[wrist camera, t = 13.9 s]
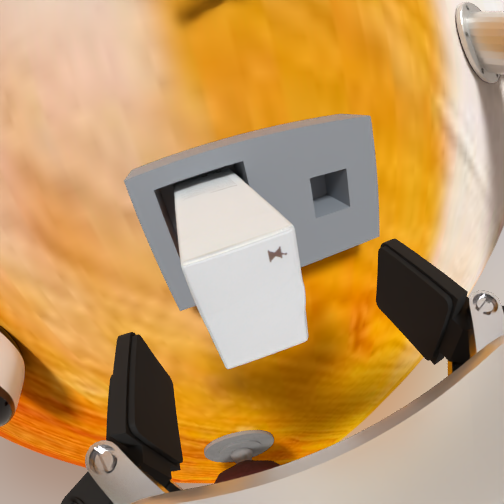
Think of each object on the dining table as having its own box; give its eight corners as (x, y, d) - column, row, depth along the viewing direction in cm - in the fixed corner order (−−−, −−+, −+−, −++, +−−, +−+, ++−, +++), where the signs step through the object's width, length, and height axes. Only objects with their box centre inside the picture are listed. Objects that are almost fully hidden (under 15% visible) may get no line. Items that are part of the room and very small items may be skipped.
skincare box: (171, 183, 19) (176, 261, 9) (228, 166, 20) (299, 221, 9) (195, 255, 22) (225, 373, 12) (246, 239, 23) (313, 341, 12)
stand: (340, 113, 21) (370, 115, 17) (353, 219, 26) (379, 236, 22) (132, 169, 18) (124, 180, 15) (177, 282, 23) (180, 311, 20)
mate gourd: (184, 445, 36) (212, 554, 19) (265, 418, 37) (314, 529, 20) (222, 467, 44) (249, 549, 27) (286, 445, 45) (324, 526, 28)
